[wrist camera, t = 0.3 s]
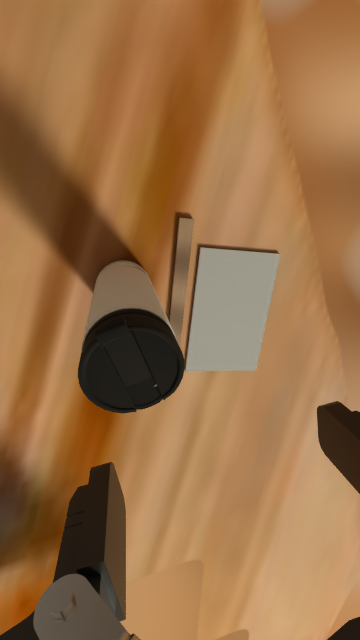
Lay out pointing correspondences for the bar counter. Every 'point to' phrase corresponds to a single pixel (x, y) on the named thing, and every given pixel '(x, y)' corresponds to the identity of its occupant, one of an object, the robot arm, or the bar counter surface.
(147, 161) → the bar counter surface
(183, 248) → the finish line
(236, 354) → the mat
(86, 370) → the travel mug
